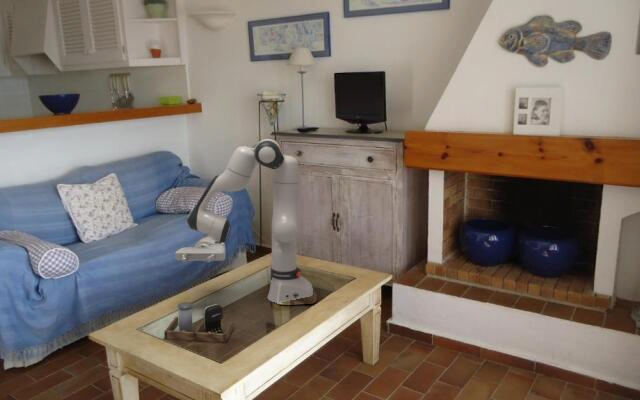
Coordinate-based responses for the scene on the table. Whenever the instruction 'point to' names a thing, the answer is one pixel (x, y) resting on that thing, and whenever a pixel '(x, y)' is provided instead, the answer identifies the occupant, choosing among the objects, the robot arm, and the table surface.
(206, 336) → the dock
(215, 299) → the table surface
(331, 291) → the table surface
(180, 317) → the canister
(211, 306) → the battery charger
